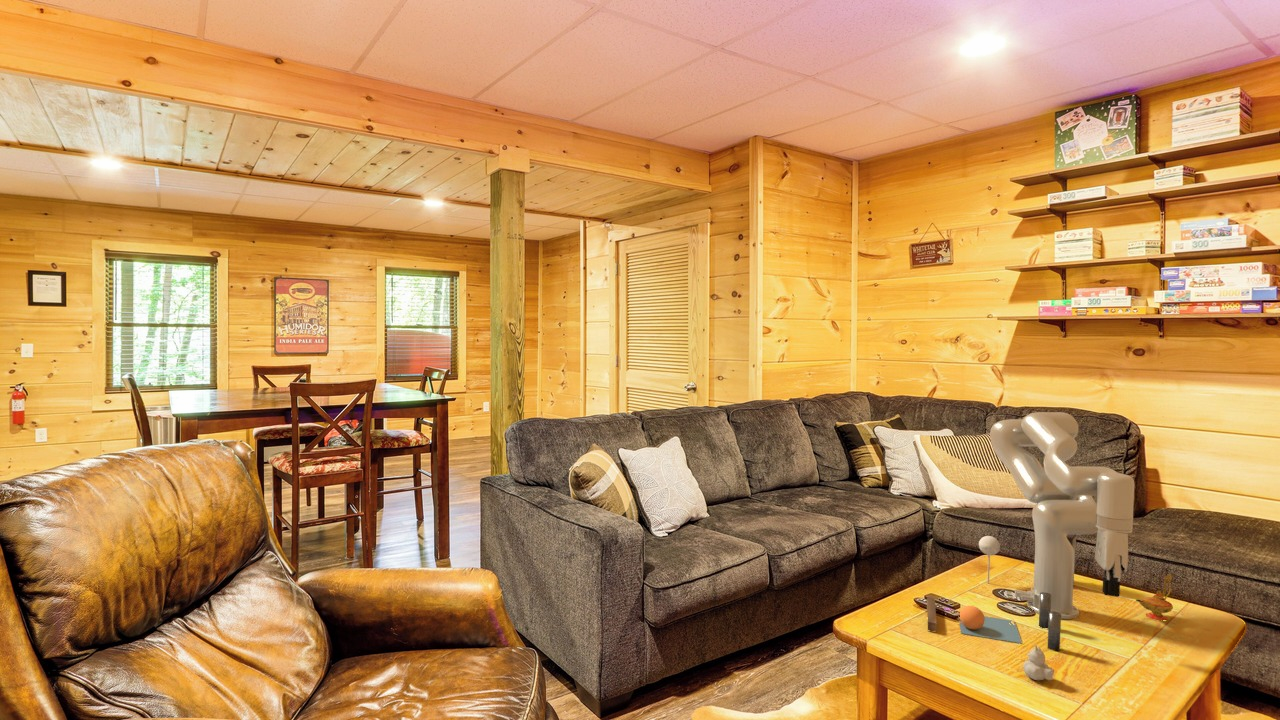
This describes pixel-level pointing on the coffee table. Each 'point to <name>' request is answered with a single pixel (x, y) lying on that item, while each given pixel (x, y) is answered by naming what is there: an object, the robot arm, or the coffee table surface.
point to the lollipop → (989, 548)
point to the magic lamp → (1157, 603)
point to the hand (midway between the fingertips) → (1110, 594)
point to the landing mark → (995, 630)
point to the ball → (972, 617)
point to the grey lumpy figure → (1037, 666)
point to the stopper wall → (931, 613)
